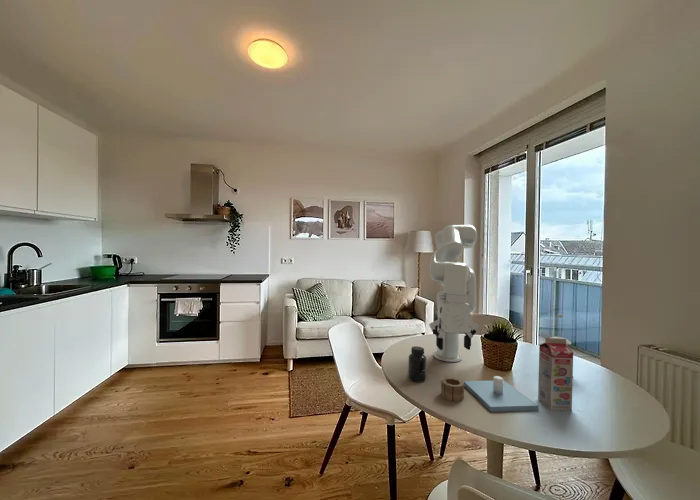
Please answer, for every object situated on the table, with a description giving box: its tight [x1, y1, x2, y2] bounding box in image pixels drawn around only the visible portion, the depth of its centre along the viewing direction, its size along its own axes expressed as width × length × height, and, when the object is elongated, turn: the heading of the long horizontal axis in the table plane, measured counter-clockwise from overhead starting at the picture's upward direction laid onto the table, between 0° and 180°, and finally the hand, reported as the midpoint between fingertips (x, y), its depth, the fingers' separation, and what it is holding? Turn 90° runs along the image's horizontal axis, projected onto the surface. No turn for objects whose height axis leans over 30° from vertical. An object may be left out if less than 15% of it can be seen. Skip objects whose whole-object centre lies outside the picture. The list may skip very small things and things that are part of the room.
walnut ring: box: [440, 376, 465, 403], centre depth 102 cm, size 7×7×5 cm
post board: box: [463, 375, 539, 412], centre depth 102 cm, size 18×16×6 cm
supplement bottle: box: [407, 345, 427, 383], centre depth 115 cm, size 7×7×12 cm
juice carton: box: [537, 337, 574, 411], centre depth 98 cm, size 7×7×22 cm
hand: (453, 348), depth 101 cm, fingers open, 9 cm apart
